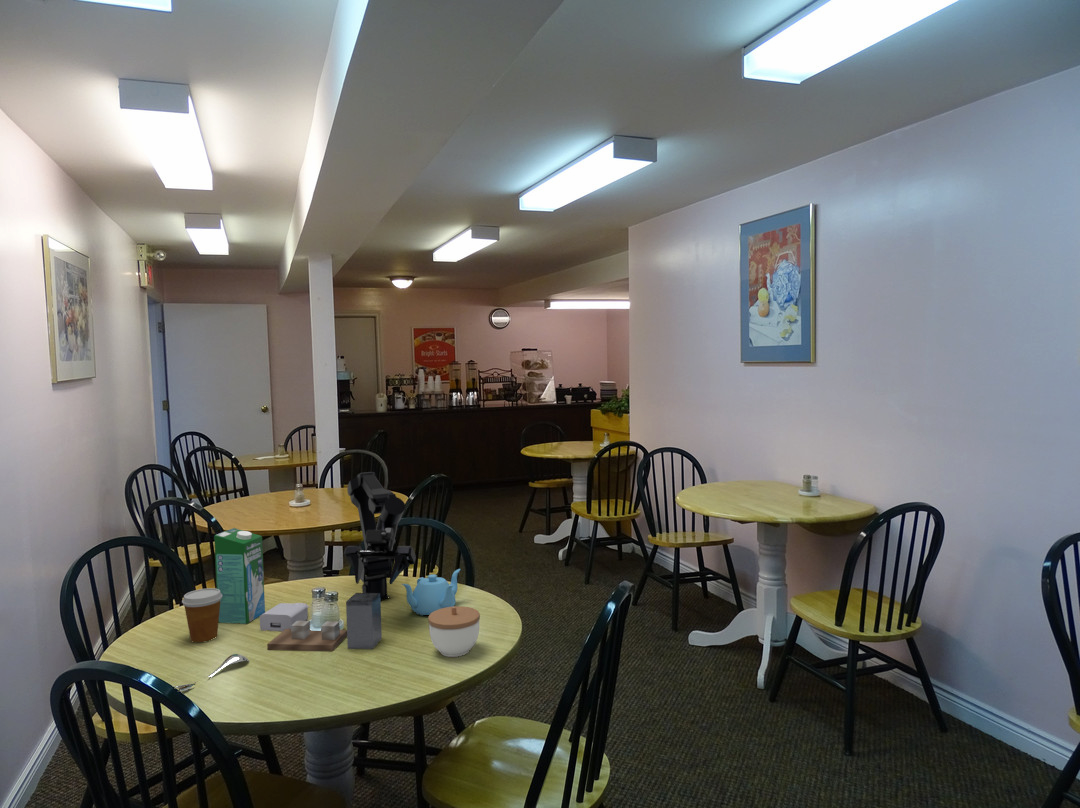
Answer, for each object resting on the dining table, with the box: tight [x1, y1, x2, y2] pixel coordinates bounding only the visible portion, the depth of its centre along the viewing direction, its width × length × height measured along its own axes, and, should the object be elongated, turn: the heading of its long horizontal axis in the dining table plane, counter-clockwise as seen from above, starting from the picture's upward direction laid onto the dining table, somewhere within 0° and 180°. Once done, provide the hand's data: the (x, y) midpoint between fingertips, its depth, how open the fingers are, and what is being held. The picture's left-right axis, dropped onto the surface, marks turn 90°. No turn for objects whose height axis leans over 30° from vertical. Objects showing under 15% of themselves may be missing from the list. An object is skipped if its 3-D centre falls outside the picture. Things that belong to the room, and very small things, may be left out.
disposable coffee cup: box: [181, 587, 222, 643], centre depth 177 cm, size 10×10×12 cm
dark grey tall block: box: [345, 592, 383, 650], centre depth 171 cm, size 7×7×12 cm
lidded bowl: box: [427, 605, 481, 658], centre depth 166 cm, size 13×13×11 cm
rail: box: [266, 620, 347, 652], centre depth 173 cm, size 17×10×5 cm, turn 85°
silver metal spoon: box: [173, 653, 250, 692], centre depth 154 cm, size 20×4×5 cm
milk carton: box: [213, 527, 266, 625], centre depth 191 cm, size 9×9×25 cm
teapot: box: [401, 568, 461, 616], centre depth 195 cm, size 15×15×10 cm
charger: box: [259, 602, 310, 632], centre depth 189 cm, size 5×9×15 cm
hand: (373, 583), depth 179 cm, fingers open, 9 cm apart
